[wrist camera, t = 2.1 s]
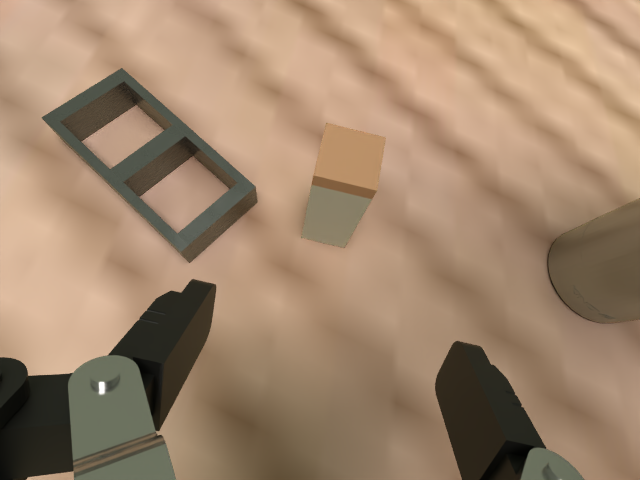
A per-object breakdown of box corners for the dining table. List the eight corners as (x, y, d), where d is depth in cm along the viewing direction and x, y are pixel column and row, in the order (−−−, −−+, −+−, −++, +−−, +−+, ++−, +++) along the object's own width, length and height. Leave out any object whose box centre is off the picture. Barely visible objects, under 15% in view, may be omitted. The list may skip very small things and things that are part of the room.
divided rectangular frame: (134, 91, 35) (121, 68, 32) (257, 202, 33) (255, 186, 30) (61, 139, 33) (41, 117, 30) (189, 262, 30) (180, 252, 27)
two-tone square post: (310, 199, 34) (326, 122, 23) (351, 208, 34) (385, 137, 23) (301, 237, 32) (313, 175, 22) (344, 247, 32) (376, 190, 22)
